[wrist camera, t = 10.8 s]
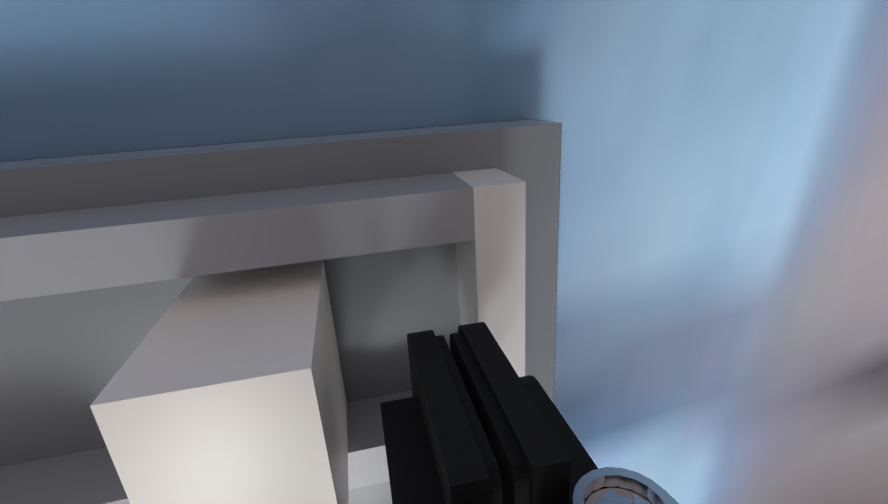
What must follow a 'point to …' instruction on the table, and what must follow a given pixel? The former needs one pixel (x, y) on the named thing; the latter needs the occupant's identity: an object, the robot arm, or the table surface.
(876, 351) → the table surface
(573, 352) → the table surface
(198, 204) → the switch board
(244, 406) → the tab
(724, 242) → the table surface
